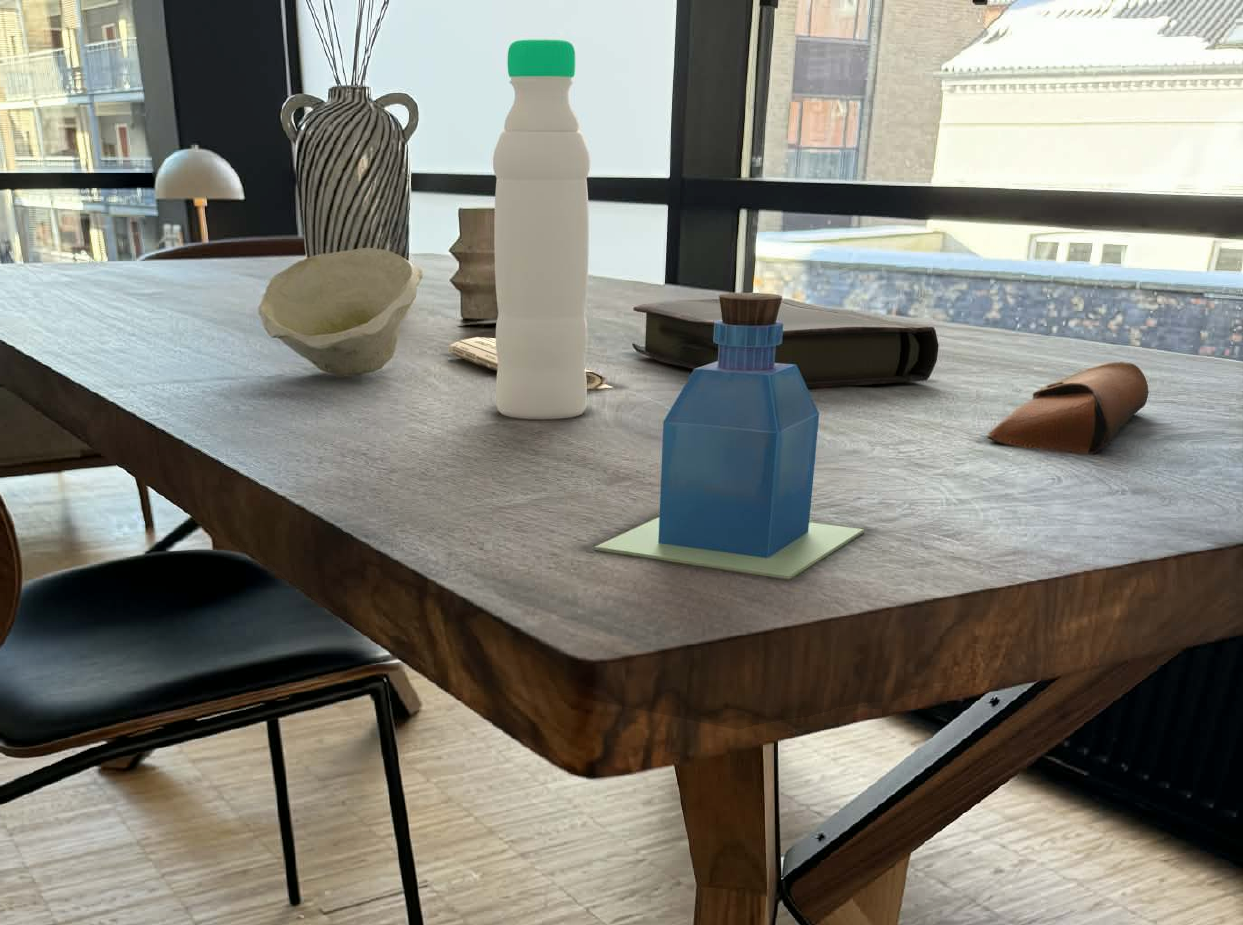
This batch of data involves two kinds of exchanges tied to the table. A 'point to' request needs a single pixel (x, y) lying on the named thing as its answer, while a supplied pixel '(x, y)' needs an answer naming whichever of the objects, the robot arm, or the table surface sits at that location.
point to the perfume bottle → (740, 441)
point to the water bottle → (541, 239)
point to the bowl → (341, 308)
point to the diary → (800, 342)
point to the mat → (778, 565)
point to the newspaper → (486, 356)
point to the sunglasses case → (1077, 410)
